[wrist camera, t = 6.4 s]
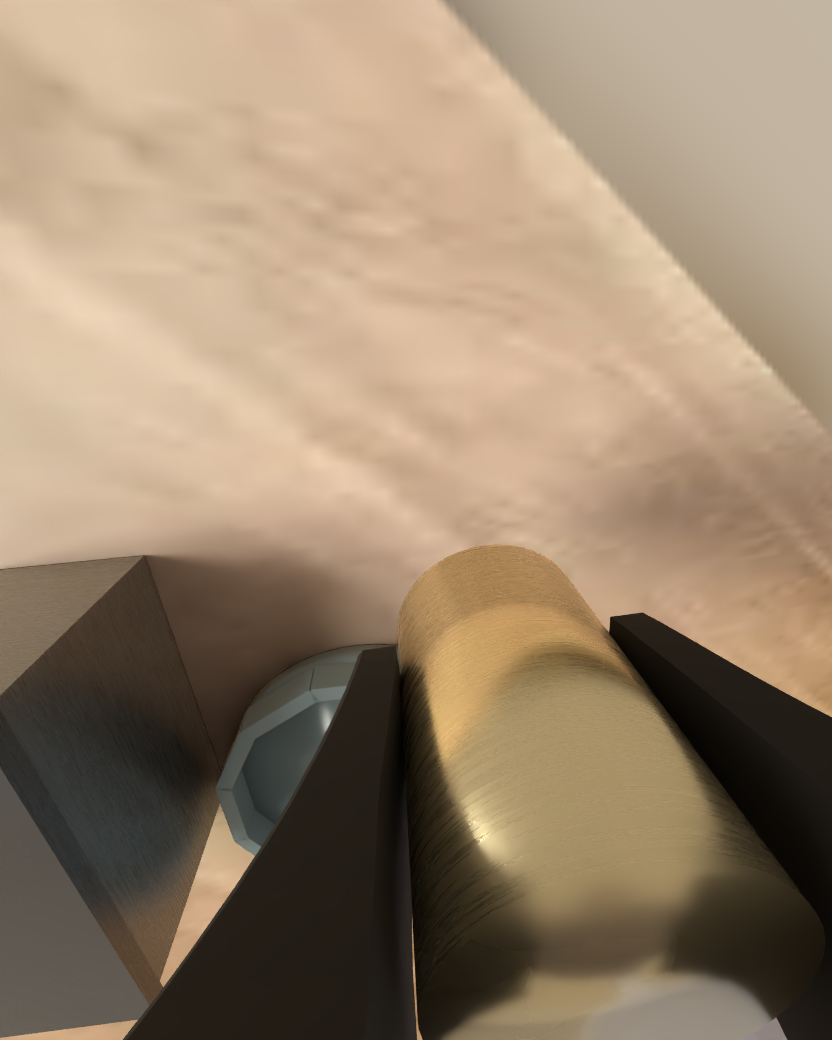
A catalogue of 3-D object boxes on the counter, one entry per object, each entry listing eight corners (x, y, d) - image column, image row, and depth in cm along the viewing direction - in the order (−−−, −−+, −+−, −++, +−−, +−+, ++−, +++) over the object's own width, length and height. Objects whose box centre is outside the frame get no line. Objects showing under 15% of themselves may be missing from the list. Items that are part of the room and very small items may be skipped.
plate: (507, 629, 19) (522, 666, 17) (506, 823, 23) (517, 870, 21) (205, 661, 18) (183, 703, 16) (268, 852, 23) (257, 902, 21)
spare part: (582, 532, 9) (879, 841, 4) (576, 684, 11) (777, 1057, 5) (386, 558, 9) (392, 910, 4) (408, 707, 11) (437, 1109, 5)
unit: (148, 550, 16) (-30, 721, 9) (231, 788, 21) (156, 1017, 14) (-41, 568, 16) (-370, 758, 9) (88, 804, 21) (-60, 1045, 14)
